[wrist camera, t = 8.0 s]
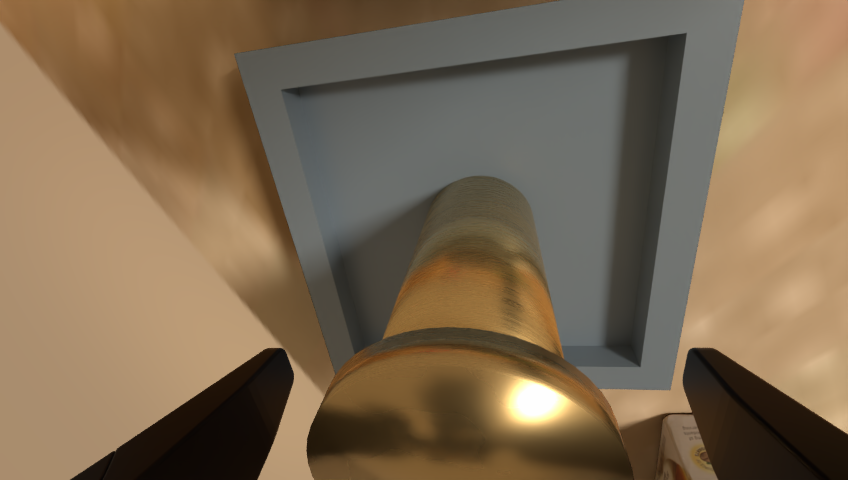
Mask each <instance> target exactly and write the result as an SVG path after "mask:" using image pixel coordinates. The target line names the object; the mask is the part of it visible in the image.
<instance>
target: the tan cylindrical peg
mask: <svg viewBox="0 0 848 480" xmlns="http://www.w3.org/2000/svg"><path fill="white" fill-rule="evenodd" d="M307 458H308V464H309V467H310V470H311V473H312V476H313V478H314V480H634V477H633V471H632V467H631V464H630V461H629V458H628V455H627V452H626V448H625V445H624V442H623V439H622V436H621V433H620V430H619V426H618V423H617V420H616V418H615V415H614V413H613V411H612V408H611V406H610V405H609V403H608V401H607V400H606V398H605V397H604V395H603V394H602V392H601V391H600V390H599V389H598V388H597V387H596V385H595V384H594V383H593V382H592V381H591V380H590V379H589V378H588V377H587V376H586V375H584V374H583V373H582V372H581V371H580V370H579V369H577V368H576V367H575V366H574V365H572V364H571V363H569V362H567V361H566V360H564V356H563V352H562V347H561V342H560V338H559V333H558V329H557V324H556V319H555V315H554V310H553V305H552V301H551V296H550V292H549V287H548V282H547V278H546V273H545V268H544V264H543V259H542V254H541V250H540V245H539V241H538V236H537V231H536V227H535V222H534V217H533V213H532V210H531V207H530V205H529V203H528V201H527V200H526V198H525V197H524V196H523V194H522V193H521V192H520V191H519V190H518V189H517V188H515V187H514V186H513V185H511V184H509V183H508V182H506V181H504V180H501V179H498V178H495V177H490V176H470V177H465V178H462V179H459V180H457V181H454V182H453V183H451V184H449V185H448V186H446V187H445V188H444V189H442V190H441V192H440V193H439V194H438V195H437V196H436V197H435V199H434V200H433V202H432V204H431V206H430V209H429V212H428V214H427V217H426V220H425V223H424V225H423V228H422V231H421V234H420V236H419V239H418V242H417V245H416V248H415V250H414V253H413V256H412V259H411V261H410V264H409V267H408V270H407V272H406V275H405V278H404V281H403V283H402V286H401V289H400V292H399V295H398V297H397V300H396V303H395V306H394V308H393V311H392V314H391V317H390V319H389V322H388V325H387V328H386V330H385V333H384V336H383V339H382V340H380V341H378V342H375V343H373V344H371V345H369V346H367V347H366V348H364V349H363V350H361V351H359V352H358V353H356V354H355V355H354V356H353V357H352V358H350V359H349V360H348V361H347V362H346V363H345V364H344V365H343V366H342V367H341V369H340V370H339V371H338V372H337V374H336V375H335V377H334V378H333V380H332V382H331V384H330V386H329V388H328V390H327V392H326V395H325V397H324V399H323V401H322V403H321V406H320V408H319V410H318V412H317V414H316V416H315V418H314V421H313V423H312V425H311V427H310V431H309V435H308V438H307Z"/></svg>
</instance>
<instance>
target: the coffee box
mask: <svg viewBox="0 0 848 480" xmlns="http://www.w3.org/2000/svg"><path fill="white" fill-rule="evenodd" d="M655 480H718V479H717V477H716V474H715V472H714V470H713V468H712V465H711V463H710V460H709V458H708V455H707V453H706V450H705V447H704V444H703V441H702V438H701V436H700V433H699V430H698V427H697V424H696V422H695V419H694V416H693V415H684V414H672V415H668V416H666V417H665V418H664V419H663V424H662V432H661V439H660V447H659V455H658V463H657V470H656V476H655Z"/></svg>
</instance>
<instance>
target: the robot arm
mask: <svg viewBox="0 0 848 480" xmlns="http://www.w3.org/2000/svg"><path fill="white" fill-rule="evenodd" d="M293 380H294V373H293V370H292V367H291V364H290V362H289V359H288V357H287V354H286V352H285V350H284V349H282V348H267V349H265V350H263V351H262V352H260V353H259V354H257V355H256V356H254V357H253V358H251V359H250V360H248V361H247V362H245V363H244V364H242V365H241V366H240V367H238V368H236V369H235V370H234V371H232V372H230V373H229V374H228V375H226V376H225V377H223V378H222V379H220V380H219V381H217V382H216V383H214V384H213V385H211V386H210V387H208V388H207V389H205V390H204V391H202V392H201V393H199V394H198V395H196V396H195V397H194V398H192V399H190V400H189V401H188V402H186V403H184V404H183V405H181V406H180V407H179V408H177V409H175V410H174V411H172V412H171V413H169V414H168V415H166V416H165V417H164V418H162V419H160V420H159V421H158V422H156V423H155V424H153V425H152V426H150V427H149V428H147V429H146V430H144V431H143V432H141V433H140V434H138V435H137V436H135V437H134V438H132V439H131V440H129V441H128V442H126V443H125V444H123V445H122V446H120V447H119V448H117V450H116V451H113V452H111V453H110V454H108V455H107V456H105V457H104V458H102V459H101V460H99V461H98V462H96V463H95V464H93V465H92V466H90V467H89V468H87V469H86V470H85V471H83V472H81V473H80V474H78V475H77V476H75V477H74V478H72V479H71V480H257V479H258V477H259V475H260V472H261V470H262V468H263V465H264V463H265V461H266V459H267V456H268V454H269V452H270V449H271V447H272V444H273V442H274V439H275V436H276V434H277V431H278V428H279V425H280V422H281V418H282V415H283V412H284V409H285V406H286V403H287V400H288V397H289V394H290V391H291V388H292V385H293ZM683 387H684V390H685V393H686V396H687V399H688V402H689V405H690V407H691V410H692V413H693V416H694V419H695V422H696V424H697V427H698V430H699V433H700V436H701V438H702V441H703V444H704V447H705V450H706V453H707V455H708V458H709V460H710V463H711V465H712V468H713V470H714V472H715V474H716V477H717V479H718V480H848V434H847V433H845V432H843V431H842V430H840V429H839V428H837V427H836V426H834V425H833V424H831V423H830V422H828V421H826V420H825V419H823V418H822V417H820V416H819V415H817V414H816V413H814V412H812V411H811V410H809V409H808V408H806V407H805V406H803V405H802V404H800V403H798V402H797V401H795V400H794V399H792V398H791V397H789V396H788V395H786V394H784V393H783V392H781V391H780V390H778V389H777V388H775V387H774V386H772V385H771V384H769V383H767V382H766V381H764V380H763V379H761V378H760V377H758V376H757V375H755V374H753V373H752V372H750V371H749V370H747V369H746V368H744V367H743V366H741V365H739V364H738V363H736V362H735V361H733V360H732V359H730V358H729V357H727V356H725V355H724V354H722V353H721V352H719V351H718V350H716V349H713V348H692V349H690V350H689V351H688V354H687V359H686V364H685V369H684V374H683Z"/></svg>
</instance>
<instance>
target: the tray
mask: <svg viewBox="0 0 848 480" xmlns="http://www.w3.org/2000/svg"><path fill="white" fill-rule="evenodd" d="M743 4H744V0H560V1H554V2H548V3H541V4H535V5H529V6H523V7H517V8H511V9H505V10H499V11H492V12H486V13H480V14H474V15H468V16H462V17H456V18H450V19H443V20H437V21H431V22H425V23H419V24H413V25H407V26H401V27H395V28H388V29H382V30H376V31H370V32H364V33H358V34H352V35H346V36H339V37H333V38H327V39H321V40H315V41H309V42H303V43H297V44H290V45H284V46H278V47H272V48H266V49H260V50H254V51H248V52H242V53H235V54H234V55H235V58H236V61H237V64H238V67H239V71H240V74H241V77H242V80H243V83H244V86H245V90H246V93H247V96H248V99H249V102H250V105H251V109H252V112H253V115H254V118H255V121H256V124H257V128H258V131H259V134H260V137H261V140H262V143H263V147H264V150H265V153H266V156H267V159H268V162H269V166H270V169H271V172H272V175H273V178H274V181H275V185H276V188H277V191H278V194H279V197H280V200H281V204H282V207H283V210H284V213H285V216H286V219H287V223H288V226H289V229H290V232H291V235H292V238H293V242H294V245H295V248H296V251H297V254H298V257H299V261H300V264H301V267H302V270H303V273H304V276H305V280H306V283H307V286H308V289H309V292H310V295H311V299H312V302H313V305H314V308H315V311H316V314H317V318H318V321H319V324H320V327H321V330H322V333H323V337H324V340H325V343H326V346H327V349H328V352H329V356H330V359H331V362H332V365H333V368H334V371H335V375H336V374H337V372H338V371H339V370H340V369H341V367H342V366H343V365H344V364H345V363H346V362H347V361H348V360H349V359H350V358H352V357H353V356H354V355H355V354H356V353H358V352H359V351H361V350H363V349H364V348H366V347H367V346H369V345H371V344H373V343H375V342H378V341H380V340H382V339H383V336H384V333H385V330H386V328H387V325H388V322H389V319H390V317H391V314H392V311H393V308H394V306H395V303H396V300H397V297H398V295H399V292H400V289H401V286H402V283H403V281H404V278H405V275H406V272H407V270H408V267H409V264H410V261H411V259H412V256H413V253H414V250H415V248H416V245H417V242H418V239H419V236H420V234H421V231H422V228H423V225H424V223H425V220H426V217H427V214H428V212H429V209H430V206H431V204H432V202H433V200H434V199H435V197H436V196H437V195H438V194H439V193H440V192H441V190H442V189H444V188H445V187H446V186H448V185H449V184H451V183H453V182H454V181H457V180H459V179H462V178H465V177H470V176H490V177H495V178H498V179H501V180H504V181H506V182H508V183H509V184H511V185H513V186H514V187H515V188H517V189H518V190H519V191H520V192H521V193H522V194H523V196H524V197H525V198H526V200H527V201H528V203H529V205H530V207H531V210H532V213H533V217H534V222H535V227H536V231H537V236H538V241H539V245H540V250H541V254H542V259H543V264H544V268H545V273H546V278H547V282H548V287H549V292H550V296H551V301H552V305H553V310H554V315H555V319H556V324H557V329H558V333H559V338H560V342H561V347H562V352H563V356H564V360H566V361H567V362H569V363H571V364H572V365H574V366H575V367H576V368H577V369H579V370H580V371H581V372H582V373H583V374H584V375H586V376H587V377H588V378H589V379H590V380H591V381H592V382H593V383H594V384H595V385H596V387H597V388H598V389H635V390H670V389H671V384H672V379H673V374H674V368H675V363H676V358H677V352H678V347H679V342H680V337H681V331H682V326H683V321H684V316H685V310H686V305H687V300H688V294H689V289H690V284H691V279H692V273H693V268H694V263H695V258H696V252H697V247H698V242H699V236H700V231H701V226H702V221H703V215H704V210H705V205H706V200H707V194H708V189H709V184H710V178H711V173H712V168H713V163H714V157H715V152H716V147H717V142H718V136H719V131H720V126H721V120H722V115H723V110H724V105H725V99H726V94H727V89H728V84H729V78H730V73H731V68H732V62H733V57H734V52H735V47H736V41H737V36H738V31H739V26H740V20H741V15H742V10H743Z"/></svg>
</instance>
